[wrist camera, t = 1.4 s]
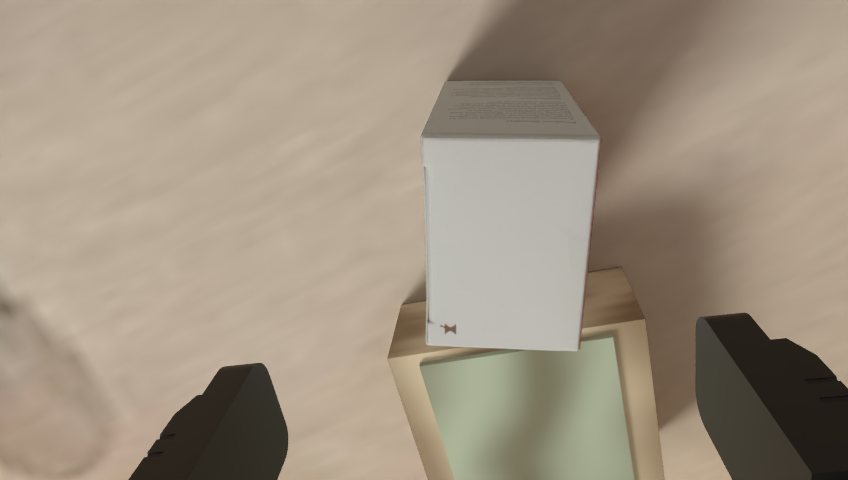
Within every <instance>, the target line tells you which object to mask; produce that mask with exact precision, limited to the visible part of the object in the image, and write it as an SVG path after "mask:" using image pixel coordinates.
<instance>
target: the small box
mask: <svg viewBox="0 0 848 480" xmlns="http://www.w3.org/2000/svg"><path fill="white" fill-rule="evenodd" d="M601 141H602V139H601V137H600V135H599V134H598V132H597V131H596V129H595V128H594V127H593V125H592V124H591V123H590V121H589V120H588V118H587V117H586V115H585V114H584V113H583V111H582V110H581V108H580V107H579V106H578V104H577V103H576V102H575V100H574V98H573V97H572V96H571V94H570V93H569V92H568V90H567V89H566V87H565V86H564V85H563V83H562V82H561V81H446V82H445V83H444V85H443V87H442V90H441V92H440V94H439V96H438V99H437V101H436V103H435V105H434V107H433V110H432V112H431V114H430V117H429V119H428V121H427V123H426V125H425V128H424V130H423V132H422V134H421V138H420V144H421V153H422V166H423V185H424V213H425V251H426V335H425V343H426V344H427V345H433V346H452V347H474V348H499V349H523V350H547V351H578V350H579V349H580V343H581V334H582V324H583V314H584V304H585V294H586V285H587V275H588V265H589V254H590V245H591V236H592V226H593V216H594V206H595V196H596V187H597V178H598V167H599V156H600V147H601Z"/></svg>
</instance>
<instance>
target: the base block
mask: <svg viewBox="0 0 848 480" xmlns="http://www.w3.org/2000/svg"><path fill="white" fill-rule="evenodd" d="M425 335H426V301H422V302H416V303H410V304H404V305H401V308H400V312H399V316H398V320H397V324H396V327H395V331H394V335H393V339H392V343H391V347H390V351H389V355H388V362H389V365H390V368H391V371H392V374H393V377H394V380H395V383H396V386H397V389H398V392H399V395H400V398H401V401H402V404H403V407H404V410H405V413H406V415H407V418H408V421H409V424H410V427H411V430H412V433H413V436H414V439H415V442H416V445H417V448H418V451H419V454H420V457H421V460H422V463H423V466H424V469H425V472H426V475H427V478H428V480H665V478H664V470H663V462H662V454H661V445H660V437H659V429H658V421H657V412H656V404H655V396H654V388H653V379H652V371H651V363H650V355H649V346H648V338H647V330H646V322H645V318H644V315H643V313H642V311H641V309H640V307H639V304H638V302H637V300H636V298H635V296H634V293H633V291H632V289H631V287H630V285H629V282H628V280H627V278H626V276H625V274H624V271H623V269H622V267H619V268H613V269H607V270H601V271H596V272H590V273H588V275H587V285H586V294H585V304H584V314H583V324H582V334H581V343H580V349H579V350H578V351H547V350H523V349H499V348H474V347H452V346H433V345H427V344H426V343H425Z"/></svg>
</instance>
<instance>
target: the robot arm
mask: <svg viewBox="0 0 848 480" xmlns="http://www.w3.org/2000/svg"><path fill="white" fill-rule="evenodd" d="M696 398H697V404H698V408H699V412H700V416H701V419H702V422H703V424H704V426H705V428H706V430H707V432H708V434H709V436H710V438H711V440H712V442H713V444H714V446H715V447H716V449H717V451H718V453H719V455H720V457H721V459H722V461H723V463H724V465H725V467H726V468H727V470H728V472H729V474H730V476H731V478H732V480H848V388H847V387H846V386H845V385H844V384H843V383H842V382H841V381H837V377H836V376H835V374H834V373H833V372H832V371H831V370H830V369H829V368H828V367H827V366H826V365H825V364H824V363H823V362H822V360H821V359H820V358H819V357H818V356H817V355H815V354H814V353H812V352H810V351H808V350H806V349H805V348H803V347H801V346H799V345H797V344H796V343H794V342H792V341H790V340H788V339H787V338H784V339H773V340H770V339H769V338H768V336H767V335H766V334H765V333H764V332H763V330H762V329H761V328H760V327H759V326H758V324H757V323H756V322H755V321H754V320H753V319H752V317H751V316H750V315H749V314H747V313H736V314H727V315H717V316H708V317H700V318H699V319H698V320H697V324H696ZM287 450H288V431H287V426H286V423H285V420H284V417H283V414H282V411H281V408H280V405H279V402H278V399H277V396H276V393H275V390H274V387H273V384H272V381H271V378H270V375H269V373H268V370H267V368H266V367H265V366H264V365H263V364H262V363H254V364H244V365H235V366H226V367H222V368H221V369H220V370H219V371H218V372H217V374H216V375H215V377H214V378H213V380H212V381H211V383H210V384H209V386H208V387H207V388H206V390H205V391H204V393H203V394H202V395H197V396H196V397H195V398H193V399H192V400H191V401H190V402H189V403H187V404H186V405H185V406H184V407H183V408H182V409H180V410H179V411H178V412H177V413H176V414H174V416H173V417H172V419H171V420H170V422H169V423H168V424H167V426H166V427H165V429H164V430H163V431H162V433H161V434H160V439H158V440H156V441H155V443H154V444H153V446H152V447H151V449H150V450H149V451H148V456H147V457H144V458H143V460H142V461H141V463H140V464H139V466H138V467H137V468H136V470H135V471H134V473H133V474H132V476H131V477H130V478H129V480H277V479H278V476H279V474H280V471H281V469H282V466H283V464H284V461H285V458H286V455H287Z"/></svg>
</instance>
